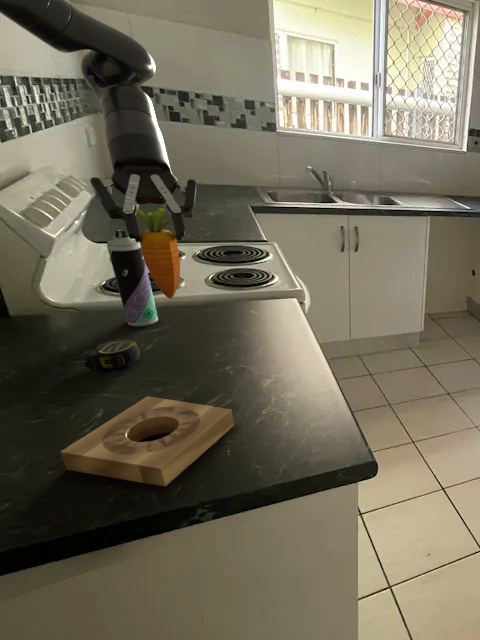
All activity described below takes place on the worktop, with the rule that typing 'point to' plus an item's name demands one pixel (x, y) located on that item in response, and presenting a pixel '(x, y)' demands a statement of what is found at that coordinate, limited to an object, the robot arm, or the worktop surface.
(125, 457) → the socket pad
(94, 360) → the tape measure
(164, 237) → the carrot
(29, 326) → the worktop surface
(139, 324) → the spray can
